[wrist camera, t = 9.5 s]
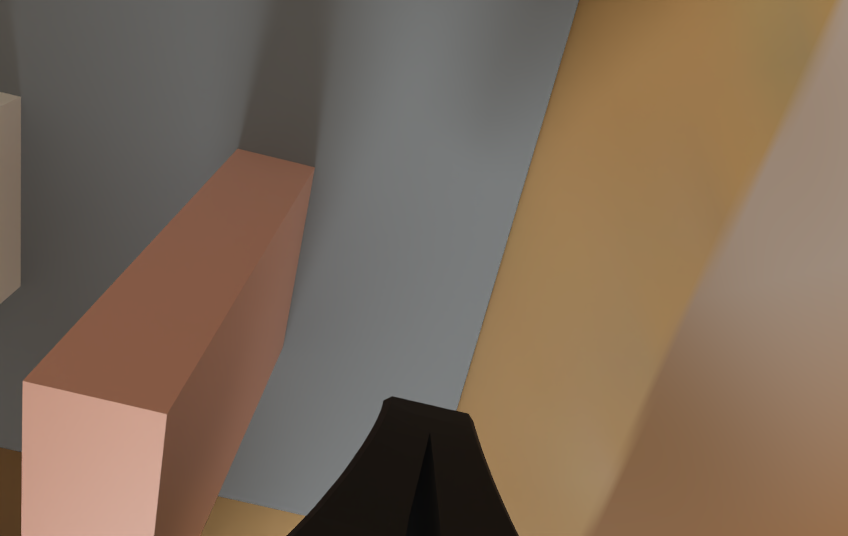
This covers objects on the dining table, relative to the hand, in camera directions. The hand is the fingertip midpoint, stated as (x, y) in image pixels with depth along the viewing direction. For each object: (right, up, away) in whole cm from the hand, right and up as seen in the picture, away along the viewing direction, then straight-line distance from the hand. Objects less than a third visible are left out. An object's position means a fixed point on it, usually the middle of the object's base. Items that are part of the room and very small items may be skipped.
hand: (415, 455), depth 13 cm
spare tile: (-3, +3, +5) cm, 7 cm away
